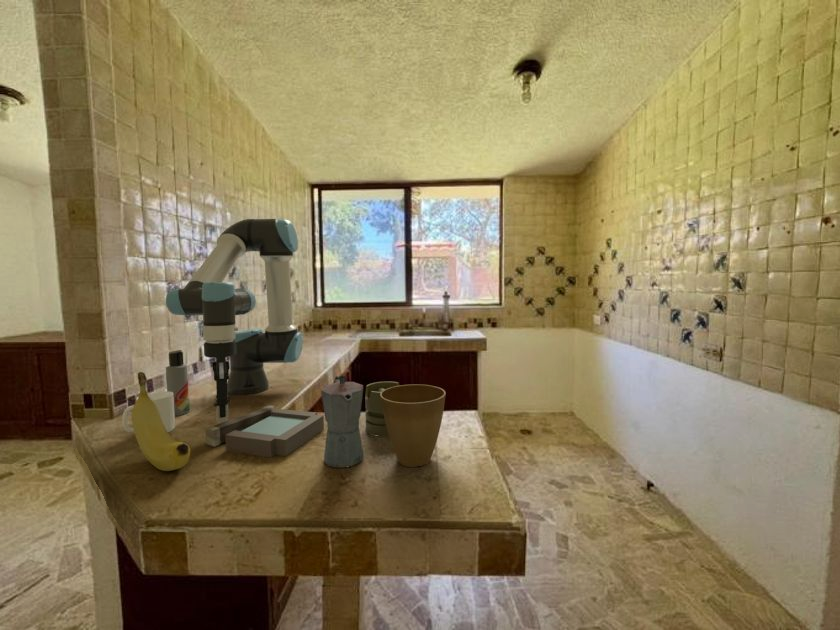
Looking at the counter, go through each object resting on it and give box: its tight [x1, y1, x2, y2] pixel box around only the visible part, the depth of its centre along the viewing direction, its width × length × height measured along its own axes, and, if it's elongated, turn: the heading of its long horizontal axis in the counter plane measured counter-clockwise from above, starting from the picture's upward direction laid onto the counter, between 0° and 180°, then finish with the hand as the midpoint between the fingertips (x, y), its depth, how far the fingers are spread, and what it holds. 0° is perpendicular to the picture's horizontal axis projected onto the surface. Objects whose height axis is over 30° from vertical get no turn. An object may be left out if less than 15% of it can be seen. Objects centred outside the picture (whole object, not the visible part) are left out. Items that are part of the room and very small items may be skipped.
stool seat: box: [225, 408, 325, 458], centre depth 98 cm, size 20×16×4 cm
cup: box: [121, 391, 176, 434], centre depth 101 cm, size 8×12×10 cm
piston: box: [364, 381, 400, 437], centre depth 104 cm, size 11×12×11 cm
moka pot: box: [320, 375, 364, 468], centre depth 85 cm, size 10×15×20 cm, turn 27°
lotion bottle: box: [165, 349, 190, 417], centre depth 117 cm, size 6×6×20 cm
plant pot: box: [380, 383, 447, 468], centre depth 85 cm, size 15×15×16 cm
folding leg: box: [204, 405, 275, 447], centre depth 101 cm, size 19×3×4 cm, turn 152°
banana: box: [131, 371, 191, 472], centre depth 83 cm, size 23×6×20 cm, turn 55°
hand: (222, 427), depth 99 cm, fingers closed
